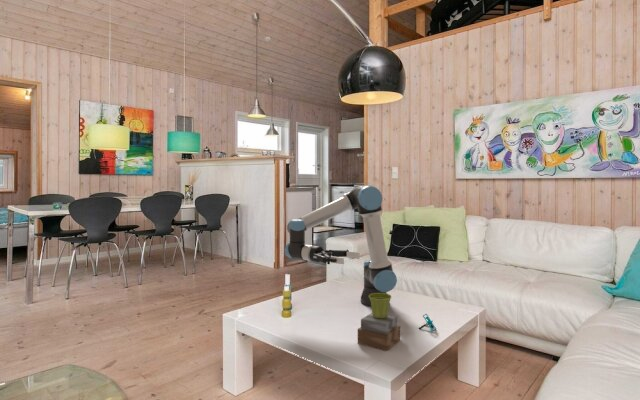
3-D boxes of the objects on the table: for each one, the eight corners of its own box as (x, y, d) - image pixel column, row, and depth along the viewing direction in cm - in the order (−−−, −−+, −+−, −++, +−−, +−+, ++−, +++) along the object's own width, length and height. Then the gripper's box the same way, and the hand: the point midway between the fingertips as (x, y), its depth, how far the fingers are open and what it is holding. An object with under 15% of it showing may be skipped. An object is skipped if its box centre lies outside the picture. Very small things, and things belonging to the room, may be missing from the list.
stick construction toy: (437, 329, 172) (426, 313, 175) (423, 337, 173) (413, 321, 176) (438, 327, 184) (428, 312, 186) (425, 335, 185) (415, 320, 187)
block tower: (372, 333, 174) (372, 310, 174) (400, 340, 167) (400, 316, 166) (357, 343, 164) (357, 319, 163) (386, 351, 156) (386, 326, 156)
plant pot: (378, 322, 160) (378, 300, 160) (364, 315, 168) (364, 294, 168) (396, 317, 165) (396, 297, 164) (381, 311, 173) (381, 291, 172)
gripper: (327, 256, 201) (365, 261, 188) (297, 266, 180) (336, 272, 168) (327, 242, 200) (365, 246, 188) (296, 249, 180) (336, 254, 168)
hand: (351, 258), depth 178 cm, fingers open, 13 cm apart
